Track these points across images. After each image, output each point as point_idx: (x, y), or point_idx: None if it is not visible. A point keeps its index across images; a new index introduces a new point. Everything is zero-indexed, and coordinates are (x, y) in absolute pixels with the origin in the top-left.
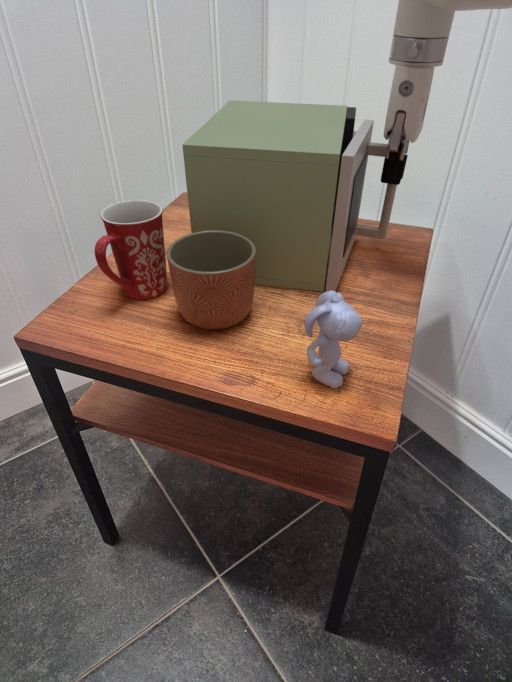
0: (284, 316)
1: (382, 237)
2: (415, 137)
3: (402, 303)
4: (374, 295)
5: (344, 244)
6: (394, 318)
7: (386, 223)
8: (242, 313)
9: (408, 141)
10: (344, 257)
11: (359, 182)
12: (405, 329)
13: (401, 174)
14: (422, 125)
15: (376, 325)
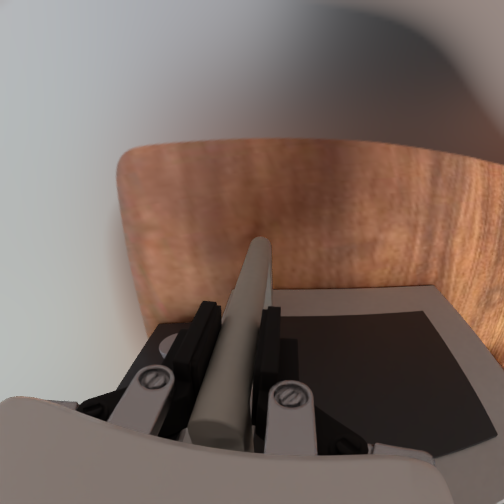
0: (478, 326)
1: (270, 245)
2: (438, 481)
3: (439, 171)
4: (428, 221)
5: (433, 327)
6: (474, 184)
7: (268, 256)
8: (500, 365)
9: (154, 420)
10: (387, 305)
11: (381, 419)
12: (491, 168)
13: (278, 329)
14: (60, 447)
15: (490, 210)
